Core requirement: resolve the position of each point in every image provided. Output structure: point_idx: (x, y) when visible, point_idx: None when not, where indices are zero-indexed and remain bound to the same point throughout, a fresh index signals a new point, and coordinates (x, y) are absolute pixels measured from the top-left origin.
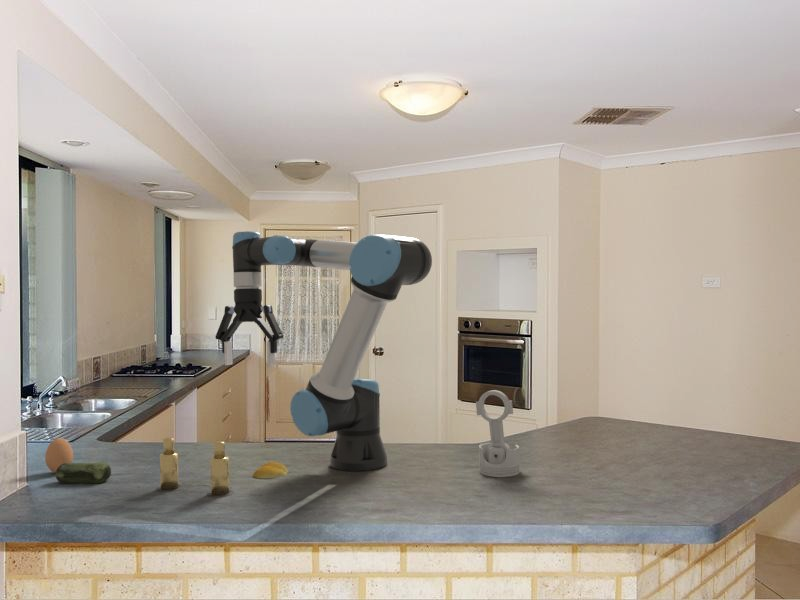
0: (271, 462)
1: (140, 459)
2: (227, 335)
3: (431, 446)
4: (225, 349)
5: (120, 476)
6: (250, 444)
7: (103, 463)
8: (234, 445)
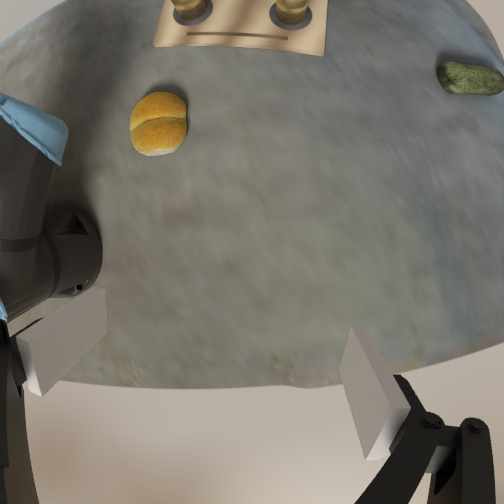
0: (152, 129)
1: (470, 231)
2: (398, 448)
3: None
4: (384, 374)
5: (439, 110)
6: (320, 375)
7: (454, 69)
8: None
